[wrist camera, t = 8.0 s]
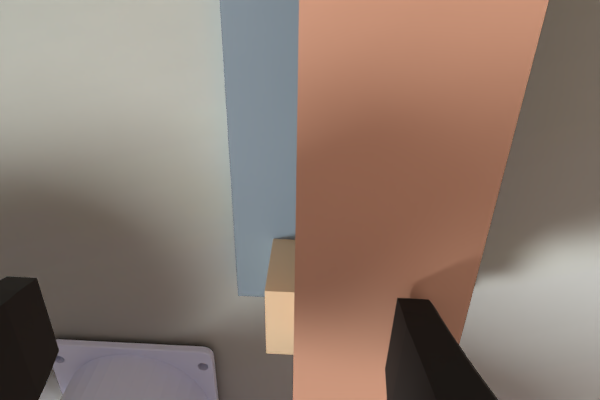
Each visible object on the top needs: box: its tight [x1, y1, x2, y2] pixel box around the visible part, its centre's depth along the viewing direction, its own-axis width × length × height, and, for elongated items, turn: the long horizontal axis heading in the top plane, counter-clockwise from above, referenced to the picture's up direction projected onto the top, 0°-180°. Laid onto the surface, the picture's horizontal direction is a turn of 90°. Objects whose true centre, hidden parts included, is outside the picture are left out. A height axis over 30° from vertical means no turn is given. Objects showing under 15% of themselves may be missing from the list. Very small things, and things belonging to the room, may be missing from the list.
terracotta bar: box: [293, 0, 549, 400], centre depth 12 cm, size 14×4×5 cm, turn 179°
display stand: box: [220, 0, 299, 355], centre depth 16 cm, size 16×9×4 cm, turn 179°
